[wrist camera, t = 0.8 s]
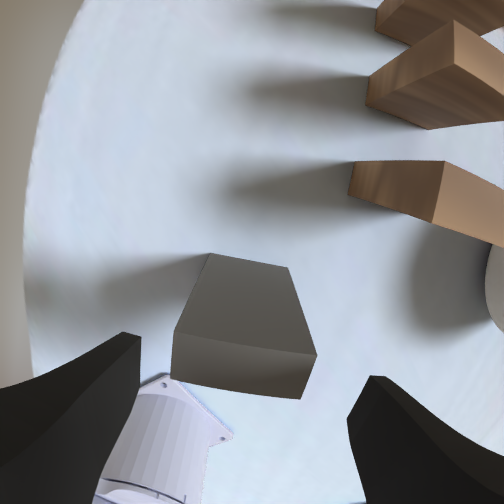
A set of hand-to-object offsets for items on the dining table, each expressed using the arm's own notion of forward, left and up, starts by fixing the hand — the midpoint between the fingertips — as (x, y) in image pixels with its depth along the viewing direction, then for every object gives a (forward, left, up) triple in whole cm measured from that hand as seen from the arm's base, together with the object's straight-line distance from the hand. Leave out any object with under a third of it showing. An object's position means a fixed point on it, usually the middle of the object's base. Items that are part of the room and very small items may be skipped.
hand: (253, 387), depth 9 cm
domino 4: (+10, 0, -10) cm, 14 cm away
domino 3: (+14, +4, -10) cm, 17 cm away
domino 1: (0, 0, -10) cm, 10 cm away
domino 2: (+17, +8, -10) cm, 22 cm away
